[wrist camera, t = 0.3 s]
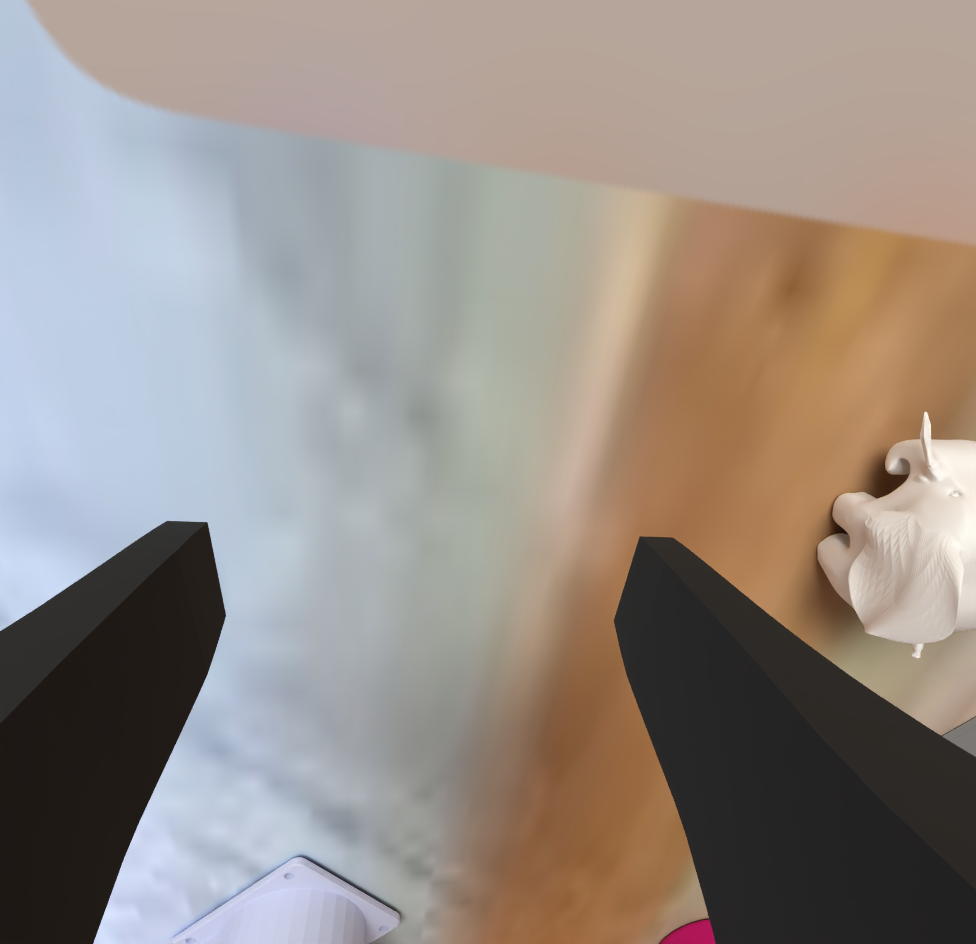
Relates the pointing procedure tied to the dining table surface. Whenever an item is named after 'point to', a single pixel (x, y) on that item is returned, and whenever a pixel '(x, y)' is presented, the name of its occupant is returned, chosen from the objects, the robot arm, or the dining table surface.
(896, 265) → the dining table surface
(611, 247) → the dining table surface
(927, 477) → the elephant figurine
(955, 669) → the dining table surface
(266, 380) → the dining table surface
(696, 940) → the pepper mill
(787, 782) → the robot arm
